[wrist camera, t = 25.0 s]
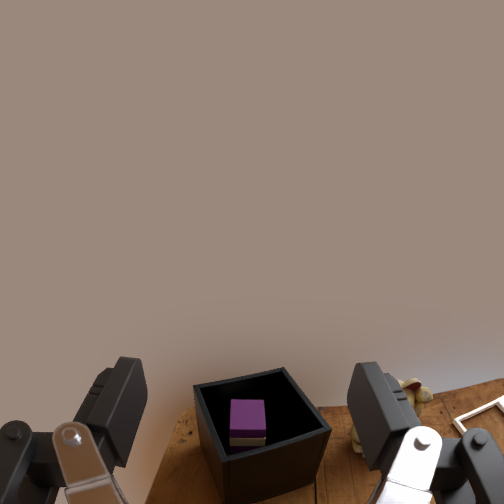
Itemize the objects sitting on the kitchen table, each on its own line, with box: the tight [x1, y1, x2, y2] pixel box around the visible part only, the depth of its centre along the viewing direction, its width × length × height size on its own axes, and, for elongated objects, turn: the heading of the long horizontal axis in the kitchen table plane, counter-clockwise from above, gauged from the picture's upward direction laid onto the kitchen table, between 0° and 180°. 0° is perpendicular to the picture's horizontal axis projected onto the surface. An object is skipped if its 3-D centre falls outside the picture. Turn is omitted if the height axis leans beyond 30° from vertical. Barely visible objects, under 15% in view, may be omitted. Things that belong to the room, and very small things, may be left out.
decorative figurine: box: [351, 378, 433, 458], centre depth 37 cm, size 10×8×15 cm
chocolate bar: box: [229, 399, 266, 455], centre depth 35 cm, size 5×4×11 cm
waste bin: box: [193, 367, 332, 504], centre depth 35 cm, size 12×12×13 cm
